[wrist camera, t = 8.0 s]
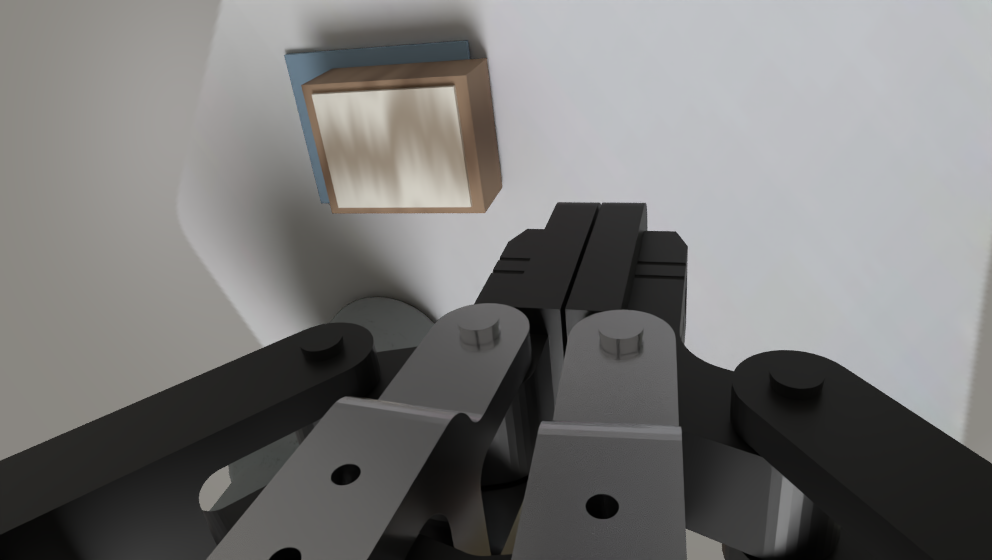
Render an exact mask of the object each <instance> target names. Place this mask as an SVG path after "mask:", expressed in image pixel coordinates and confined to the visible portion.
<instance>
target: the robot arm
mask: <svg viewBox="0 0 992 560" xmlns="http://www.w3.org/2000/svg"><path fill="white" fill-rule="evenodd" d="M687 253H688V246H687V245H686V244H685V242H684V241H683V240H682V239H681V237H680V236H679V235H678V234H677V232H671V231H647V206H646V203H602V205H601V204H600V203H571V202H558V203H557V204H556V206H555V208H554V210H553V212H552V215H551V217H550V219H549V221H548V223H547V225H546V227H545V229H527V230H525V231H524V232H522V233H521V234H519V235H518V236H517V237H515V238H514V239H512V240H511V241H509V242H508V244H507V246H506V247H505V249H504V251H503V253H502V255H501V256H500V260H498V262H497V264H496V265H495V267H494V269H493V273H491V274H490V276H489V278H488V280H487V282H486V284H485V285H484V287H483V289H482V291H481V293H480V294H479V296H478V298H477V300H476V302H475V303H474V305H469V306H465V307H461V308H458V309H456V310H453V311H451V312H449V313H447V314H446V315H444V316H443V317H441V318H440V319H439V320H438V321H437V322H436V323H435V324H434V325H433V327H432V328H431V329H430V331H429V332H428V333H427V335H426V336H425V337H424V339H423V340H422V341H421V343H420V344H419V345H418V346H416V347H410V348H403V349H396V350H388V351H381V352H376V347H375V343H374V339H373V336H372V334H371V332H370V331H369V330H368V329H366V328H365V327H363V326H360V325H358V324H353V323H345V322H338V323H327V324H322V325H318V326H315V327H311V328H309V329H306V330H303V331H301V332H299V333H296V334H294V335H292V336H289V337H287V338H285V339H282V340H280V341H278V342H275V343H273V344H271V345H268V346H266V347H264V348H261V349H259V350H257V351H254V352H252V353H250V354H247V355H245V356H243V357H241V358H238V359H236V360H234V361H231V362H229V363H227V364H224V365H222V366H220V367H217V368H215V369H213V370H210V371H208V372H206V373H203V374H201V375H199V376H196V377H194V378H192V379H189V380H187V381H185V382H183V383H180V384H178V385H175V386H173V387H171V388H169V389H166V390H164V391H162V392H159V393H157V394H155V395H152V396H150V397H147V398H145V399H143V400H141V401H138V402H136V403H134V404H132V405H129V406H127V407H124V408H122V409H120V410H118V411H115V412H113V413H111V414H108V415H106V416H104V417H101V418H99V419H96V420H94V421H92V422H89V423H87V424H85V425H82V426H80V427H78V428H76V429H73V430H71V431H68V432H66V433H64V434H61V435H59V436H57V437H55V438H52V439H50V440H48V441H45V442H43V443H41V444H38V445H36V446H34V447H31V448H29V449H27V450H24V451H22V452H20V453H17V454H15V455H13V456H10V457H8V458H6V459H3V460H1V461H0V560H687V554H686V553H687V552H686V529H688V530H691V531H693V532H696V533H699V534H701V535H703V536H706V537H708V538H710V539H713V540H715V541H718V542H720V543H722V551H723V555H724V558H725V560H992V464H991V463H990V462H989V461H987V460H985V459H984V458H982V457H981V456H979V455H978V454H976V453H975V452H973V451H972V450H970V449H969V448H967V447H966V446H964V445H963V444H961V443H959V442H958V441H956V440H955V439H953V438H952V437H950V436H949V435H947V434H946V433H944V432H943V431H941V430H940V429H938V428H936V427H935V426H933V425H932V424H930V423H929V422H927V421H926V420H924V419H923V418H921V417H920V416H918V415H917V414H915V413H913V412H912V411H910V410H909V409H907V408H906V407H904V406H903V405H901V404H900V403H898V402H897V401H895V400H894V399H892V398H891V397H889V396H887V395H886V394H884V393H883V392H881V391H880V390H878V389H877V388H875V387H874V386H872V385H871V384H869V383H868V382H866V381H864V380H863V379H861V378H860V377H858V376H857V375H855V374H854V373H852V372H851V371H849V370H848V369H846V368H845V367H843V366H841V365H840V364H838V363H836V362H834V361H832V360H830V359H827V358H825V357H822V356H819V355H816V354H811V353H807V352H801V351H792V350H778V351H769V352H763V353H760V354H756V355H753V356H751V357H749V358H747V359H746V360H744V361H743V362H741V363H740V364H739V365H738V366H737V367H736V369H735V371H730V370H727V369H723V368H720V367H717V366H714V365H712V364H709V363H707V362H705V361H703V360H701V359H699V358H698V357H696V356H695V355H694V354H692V353H691V352H690V351H689V350H688V349H687V348H686V347H685V345H684V341H685V329H686V298H687ZM293 432H295V434H296V437H297V440H298V443H299V447H298V448H297V449H296V451H295V452H294V453H293V454H292V455H291V457H290V458H289V459H288V460H287V462H286V463H285V464H284V465H283V466H282V468H281V469H280V470H279V471H278V473H277V474H276V475H275V476H274V477H273V479H272V480H271V481H270V482H269V483H268V485H266V486H264V487H262V488H260V489H258V490H256V491H255V492H253V493H251V494H249V495H247V496H245V497H243V498H241V499H239V500H238V501H236V502H234V503H232V504H230V505H228V506H226V507H224V508H222V509H219V510H216V511H203V510H202V509H201V507H200V504H199V492H200V490H201V488H202V486H203V484H204V483H205V481H206V480H207V479H208V478H209V477H210V476H211V475H212V474H213V473H215V472H216V471H217V470H219V469H221V468H223V467H225V466H227V465H229V464H231V463H233V462H235V461H237V460H239V459H241V458H243V457H245V456H247V455H249V454H251V453H253V452H255V451H257V450H259V449H261V448H263V447H265V446H267V445H269V444H271V443H273V442H275V441H277V440H279V439H281V438H283V437H285V436H287V435H289V434H291V433H293Z"/></svg>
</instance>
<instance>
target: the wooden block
mask: <svg viewBox="0 0 992 560" xmlns="http://www.w3.org/2000/svg"><path fill="white" fill-rule="evenodd" d="M301 87H302V91H303V95H304V99H305V103H306V107H307V112H308V116H309V120H310V124H311V128H312V132H313V136H314V140H315V144H316V148H317V153H318V157H319V161H320V165H321V169H322V173H323V177H324V181H325V185H326V190H327V194H328V198H329V202H330V206H331V210H332V213H485V212H486V211H487V209H488V208H489V206H490V205H491V203H492V202H493V200H494V199H495V197H496V196H497V194H498V193H499V192H500V190H501V189H502V180H501V172H500V164H499V156H498V147H497V139H496V131H495V123H494V115H493V106H492V98H491V90H490V82H489V74H488V66H487V58H482V59H467V60H452V61H437V62H422V63H407V64H392V65H377V66H362V67H347V68H332V69H330V70H329V71H327V72H325V73H323V74H321V75H319V76H317V77H315V78H314V79H312V80H310V81H308V82H306V83H304V84H302V85H301Z"/></svg>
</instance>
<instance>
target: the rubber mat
mask: <svg viewBox="0 0 992 560" xmlns="http://www.w3.org/2000/svg"><path fill="white" fill-rule="evenodd" d="M284 56H285V60H286V64H287V68H288V72H289V76H290V80H291V84H292V88H293V92H294V96H295V100H296V104H297V108H298V112H299V116H300V120H301V124H302V128H303V132H304V136H305V140H306V144H307V148H308V152H309V156H310V160H311V164H312V168H313V172H314V176H315V180H316V184H317V188H318V192H319V196H320V200H321V203H330V202H329V198H328V194H327V190H326V185H325V181H324V177H323V173H322V169H321V165H320V161H319V157H318V153H317V148H316V144H315V140H314V136H313V132H312V128H311V124H310V120H309V116H308V112H307V107H306V103H305V99H304V95H303V91H302V87H301V85H302V84H304V83H306V82H308V81H310V80H312V79H314V78H315V77H317V76H319V75H321V74H323V73H325V72H327V71H329V70H330V69H332V68H347V67H362V66H377V65H392V64H407V63H422V62H437V61H452V60H467V59H470V52H469V44H468V40H466V41H453V42H439V43H426V44H412V45H399V46H385V47H372V48H359V49H345V50H332V51H318V52H305V53H291V54H286V55H284Z"/></svg>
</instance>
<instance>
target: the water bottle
mask: <svg viewBox="0 0 992 560" xmlns="http://www.w3.org/2000/svg"><path fill="white" fill-rule="evenodd" d="M338 322H345V323H353V324H358V325H360V326H363V327H365V328H366V329H368V330H369V331H370V332H371V334H372V336H373V339H374V343H375V347H376V352H381V351H388V350H396V349H403V348H410V347H416V346H418V345H419V344H420V343H421V341H422V340H423V339H424V337H425V336H426V335H427V333H428V332H429V331H430V329H431V328H432V327H433V325H434V323H433V322H432V321H431V320H430V319H429V318H428V317H427V316H425V315H424V314H423V313H422V312H420V311H419V310H417V309H416V308H414V307H413V306H410V305H408V304H406V303H404V302H402V301H398V300H394V299H391V298H382V297H372V298H363V299H360V300H357V301H354V302H352V303H351V304H349V305H347V306H346V307H344V308H343V309H342V310H341V311H340V312H339V313H338V314H337V315H336V316H335V317H334V318H333V319H332V320H331V322H330V323H338ZM298 447H299V443H298V440H297V437H296V434H295V432H293V433H291V434H289V435H287V436H285V437H283V438H281V439H279V440H277V441H275V442H273V443H271V444H269V445H267V446H265V447H263V448H261V449H259V450H257V451H255V452H253V453H251V454H249V455H247V456H245V457H243V458H241V459H239V460H237V461H235V462H233V463H231V464H229V465H228V466H229V475H230V478H231V482H232V483H231V484H230V486H229V487H228V488H227V489H226V491H225V492H224V493H223V494H222V496H221V497H220V498H219V500H218V501H217V502H216V503H215V504H214V506H213V507H212V508H211V510H210V511H216V510H219V509H222V508H224V507H226V506H228V505H230V504H232V503H234V502H236V501H238V500H239V499H241V498H243V497H245V496H247V495H249V494H251V493H253V492H255V491H256V490H258V489H260V488H262V487H264V486H266V485H268V483H269V482H270V481H271V480H272V479H273V477H274V476H275V475H276V474H277V473H278V471H279V470H280V469H281V468H282V466H283V465H284V464H285V463H286V462H287V460H288V459H289V458H290V457H291V455H292V454H293V453H294V452H295V451H296V449H297V448H298Z"/></svg>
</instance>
